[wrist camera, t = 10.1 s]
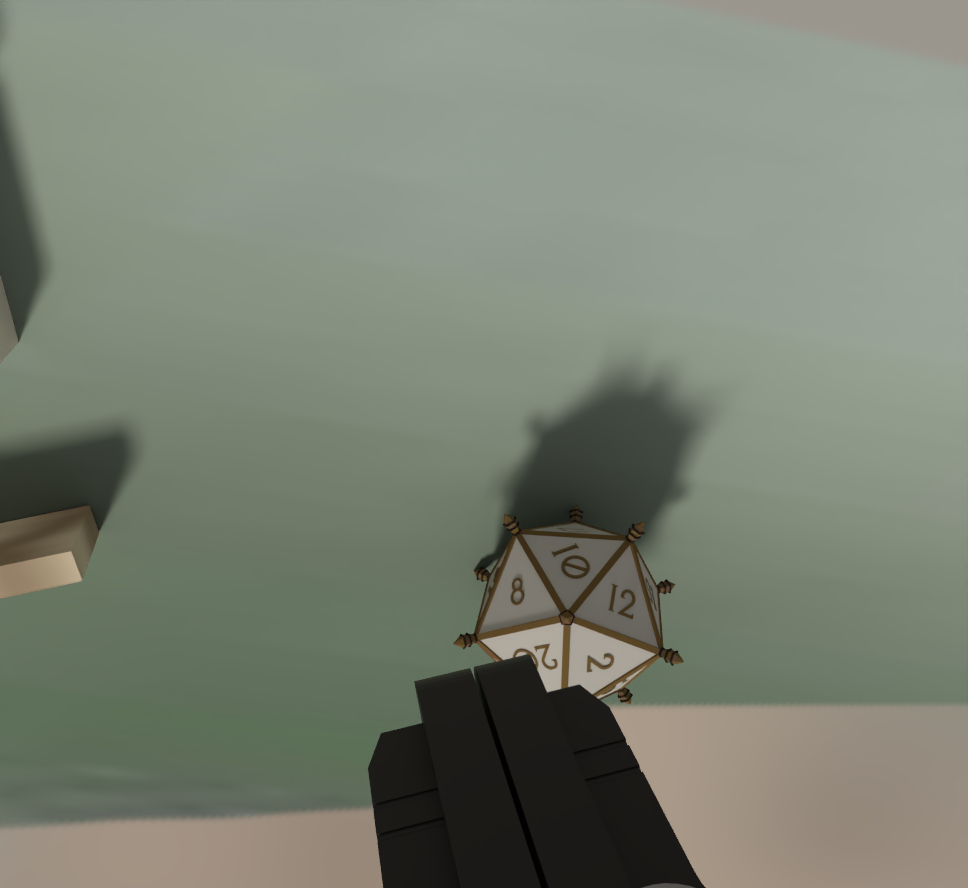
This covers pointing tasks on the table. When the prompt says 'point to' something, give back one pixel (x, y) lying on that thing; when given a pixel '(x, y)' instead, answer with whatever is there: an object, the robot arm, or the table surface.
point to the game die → (573, 606)
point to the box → (46, 550)
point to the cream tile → (6, 326)
